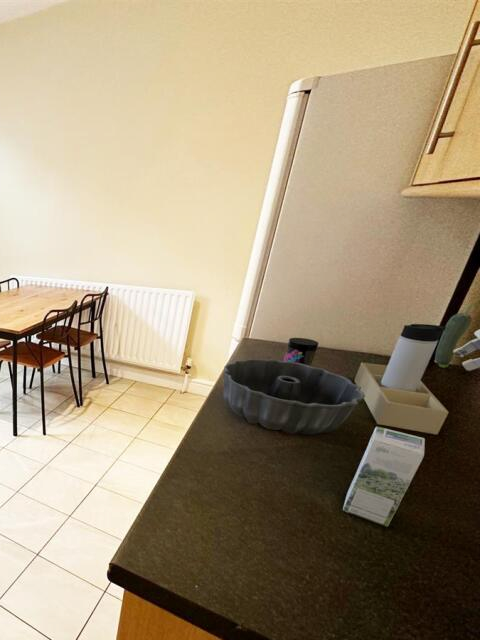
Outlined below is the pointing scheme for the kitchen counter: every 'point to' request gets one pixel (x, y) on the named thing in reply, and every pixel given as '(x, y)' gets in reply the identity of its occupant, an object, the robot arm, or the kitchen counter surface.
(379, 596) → the kitchen counter surface
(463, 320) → the vegetable
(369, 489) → the syrup box
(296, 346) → the supplement container
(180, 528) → the kitchen counter surface
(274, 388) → the bundt pan
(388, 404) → the organiser
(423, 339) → the travel mug
